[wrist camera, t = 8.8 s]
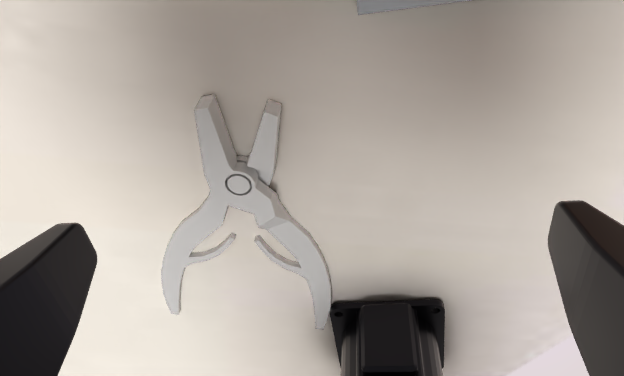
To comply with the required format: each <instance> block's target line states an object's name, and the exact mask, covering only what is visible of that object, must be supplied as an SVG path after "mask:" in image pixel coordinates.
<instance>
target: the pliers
mask: <svg viewBox="0 0 624 376" xmlns="http://www.w3.org/2000/svg"><path fill="white" fill-rule="evenodd" d="M194 113H195V119H196V125H197V131H198V137H199V144H200V150H201V156H202V162H203V168H204V175H205V177H206V180H207V182H208V185H209V187H210V193H209V196H208V197H207V198H206V200H205V201H204V202H203V204H202V205H201V206H200V208H198V209H197V210H196V211H194V212H193V213H192V214H190V215H189V216H188V217H186V218H185V219H184V220H183V221H182V222H181V223H180V225H179V226H178V227H177V229H176V230H175V231H174V233H173V235H172V237H171V239H170V242H169V244H168V246H167V248H166V252H165V255H164V258H163V264H162V270H161V275H162V288H163V294H164V297H165V300H166V303H167V305H168V307H169V310H170V312H171V314H179V313H180V310H181V309H180V295H181V281H182V277H183V272H184V269H185V267H186V266H188V265H190V264H193V263H198V262H202V261H207V260H209V259H211V258H213V257H215V256H218V255H219V254H221V253H222V252H223V251H224V250H225V249H226V248H228V246H229V245H230V244H231V243H232V242H233V241H234V239H235V236H236V234H234V233H231V234H230V235H229V236H228V237H227V238H226V240H225V241H223V242H222V243H221V244H220V245H218V246H217V247H215V248H213V249H210V250H208V251H205V252H193V253H191V252H192V251H193V249H194V248H195V247H196V246H197V245H198V244H199V243H200V242H201V241H203V240H204V239H205V238H206V237H207V236H209V235H210V234H211V233H213V232H214V231H215V230H216V229H218V228H219V227H220V226H222V224H223V221H224V217H225V214H226V211H227V207H228V206H231V207H234V208H237V209H240V210H243V211H246V212H249V213H252V214H254V217H255V219H256V222H257V225H258V227H259V228H262V229H266V230H267V231H268V232H269V233H270V234H271V235H273V236H274V237H275V238H276V239H277V240H278V241H279V242H280V243H281V244H282V245H283V246H284V247H285V248H286V249H287V250H288V251H289V252H290V253H291V254H292V255H293V256H294V257H295V258H296V259H297V261H298V262H295V261H291V260H288V259H286V258H284V257H282V256H281V255H279V254H277V253H276V252H274V251H273V250H272V249H271V248H270V247H269V246H268V245H267V244H266V243H265V241H264V240H263V239H262V238H261V237H260V235H259V236H255V240H254V242H255V243H256V244H257V245H258V247H259V248H260V249H261V250H262V252H263V253H264V254H265V255H266V256H267V257H268V258H269V259H270V260H272V261H273V262H275V263H276V264H278V265H280V266H281V267H283V268H285V269H287V270H289V271H292V272H294V273H297V274H299V275H301V276H302V277H304V278H305V279H307V282H308V285H309V288H310V291H311V294H312V298H313V304H314V312H315V324H316V329H324V327H325V324H326V322H327V319H328V315H329V312H330V306H331V281H330V276H329V272H328V268H327V265H326V263H325V260H324V257H323V255H322V253H321V251H320V249H319V247H318V245H317V244H316V242H315V241H314V240H313V238H312V237H311V235H310V234H309V233H308V232H307V231H306V230H305V229H304V228H303V227H302V226H301V225H300V224H299V223H297V222H296V221H295V220H294V219H293V218H292V217H291V216H290V215H289V213H288V212H287V211H286V209H285V208H284V206H283V205H282V204H281V202H280V201H279V199H278V195H277V193H276V192H274V191H273V190H272V189H270V188H269V185H270V182H271V179H272V177H273V174H274V171H275V167H276V159H277V148H278V136H279V125H280V114H281V103H278V102H275V101H272V100H269V99H268V101H267V104H266V107H265V110H264V113H263V116H262V120H261V123H260V126H259V129H258V132H257V136H256V139H255V142H254V145H253V149H252V152H251V153H250V154H249V156H248V157H247V156H236V152H235V150H234V147H233V144H232V142H231V139H230V136H229V133H228V130H227V127H226V124H225V122H224V119H223V116H222V113H221V110H220V107H219V105H218V102H217V99H216V96H215V94H214V95H208V96H202V97H201V99H200V100H199V102H198V104H197V106H196V108H195V109H194Z"/></svg>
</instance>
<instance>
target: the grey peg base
mask: <svg viewBox="0 0 624 376" xmlns="http://www.w3.org/2000/svg"><path fill="white" fill-rule="evenodd" d="M462 1H470V0H357V9H358V15H362V14H370V13H377V12H385V11H393V10H401V9H408V8H416V7H424V6H431V5H439V4H447V3H455V2H462Z"/></svg>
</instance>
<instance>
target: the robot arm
mask: <svg viewBox="0 0 624 376" xmlns="http://www.w3.org/2000/svg"><path fill="white" fill-rule="evenodd" d="M548 248H549V252H550V256H551V260H552V263H553V267H554V271H555V274H556V278H557V282H558V286H559V289H560V293H561V297H562V301H563V304H564V308H565V312H566V315H567V318H568V322H569V325H570V328H571V331H572V333H573V336H574V339H575V341H576V343H577V346H578V348H579V351H580V353H581V356H582V358H583V361H584V363H585V366H586V368H587V371H588V373H589V375H590V376H624V225H622V224H620V223H619V222H617V221H615V220H614V219H612V218H611V217H609V216H607V215H606V214H604V213H603V212H601V211H599V210H598V209H596V208H595V207H593V206H591V205H590V204H588V203H586V202H584V201H580V200H577V201H560V202H559V203H557V204H556V206H555V208H554V212H553V217H552V221H551V226H550V230H549V235H548ZM96 265H97V254H96V251H95V249H94V247H93V245H92V243H91V241H90V239H89V237H88V235H87V234H86V232H85V230H84V228H83V226H81V225H80V224H78V223H61V224H57V225H55V226H53V227H52V228H50V229H48V230H47V231H45V232H43V233H42V234H40V235H39V236H37V237H35V238H34V239H32V240H30V241H29V242H27V243H25V244H24V245H22V246H21V247H19V248H17V249H16V250H14V251H12V252H11V253H9V254H8V255H6V256H4V257H3V258H1V259H0V376H58V373H59V371H60V369H61V366H62V364H63V361H64V359H65V357H66V354H67V352H68V350H69V347H70V345H71V343H72V340H73V337H74V335H75V332H76V330H77V327H78V324H79V321H80V318H81V314H82V311H83V308H84V304H85V301H86V298H87V295H88V291H89V288H90V285H91V281H92V278H93V275H94V272H95V268H96ZM330 317H331V322H332V327H333V332H334V337H335V342H336V347H337V352H338V357H339V362H340V366H341V376H443V373H442V368H443V367H444V322H445V309H444V304H443V302H442V301H440V300H437V299H430V300H406V301H382V302H357V303H337V304H333V305H332V306H331V307H330Z"/></svg>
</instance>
